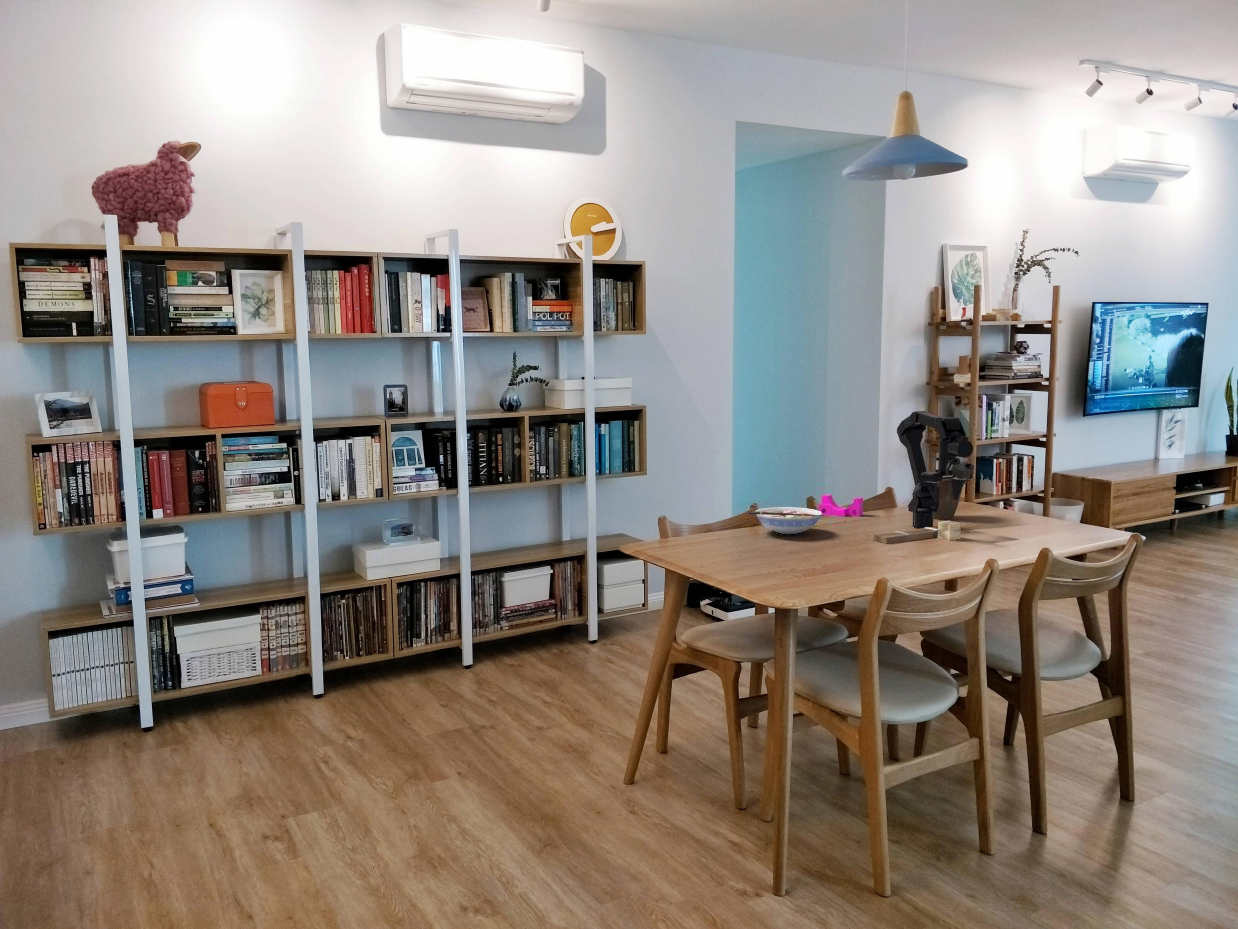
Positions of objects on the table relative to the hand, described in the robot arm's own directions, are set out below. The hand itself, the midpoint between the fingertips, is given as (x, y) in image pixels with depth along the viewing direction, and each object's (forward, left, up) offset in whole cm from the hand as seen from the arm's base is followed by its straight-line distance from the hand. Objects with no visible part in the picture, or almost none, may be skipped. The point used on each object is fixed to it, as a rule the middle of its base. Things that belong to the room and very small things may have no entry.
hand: (946, 501), depth 325 cm
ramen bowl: (-32, -41, -12) cm, 53 cm away
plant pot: (-23, +23, -12) cm, 35 cm away
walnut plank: (-4, -12, -12) cm, 17 cm away
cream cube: (+3, -2, -12) cm, 13 cm away
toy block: (-49, -3, -12) cm, 50 cm away
